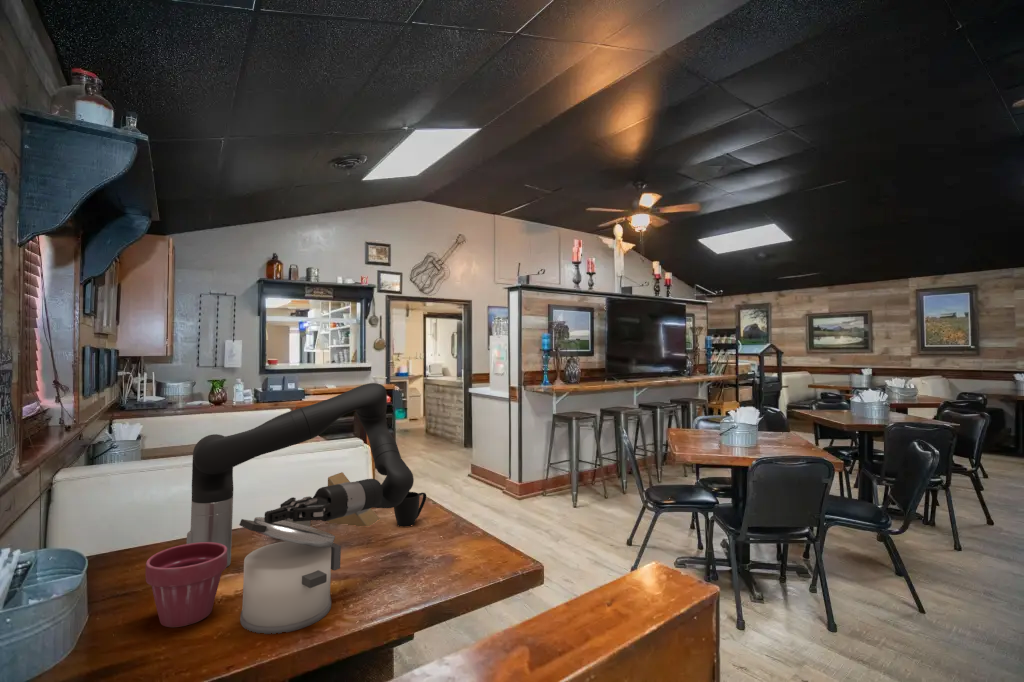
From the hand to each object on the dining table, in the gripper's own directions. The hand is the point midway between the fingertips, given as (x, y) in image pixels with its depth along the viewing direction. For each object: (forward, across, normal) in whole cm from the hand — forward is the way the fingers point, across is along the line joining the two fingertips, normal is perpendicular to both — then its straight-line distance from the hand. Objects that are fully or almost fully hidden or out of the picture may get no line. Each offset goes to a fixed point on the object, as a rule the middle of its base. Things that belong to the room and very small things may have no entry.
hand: (266, 517), depth 104 cm
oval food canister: (-5, 0, +21) cm, 22 cm away
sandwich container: (-50, -40, +21) cm, 67 cm away
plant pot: (+9, -14, +21) cm, 27 cm away
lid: (-5, 0, +5) cm, 7 cm away
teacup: (-28, -42, +21) cm, 54 cm away
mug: (-61, -24, +21) cm, 69 cm away
